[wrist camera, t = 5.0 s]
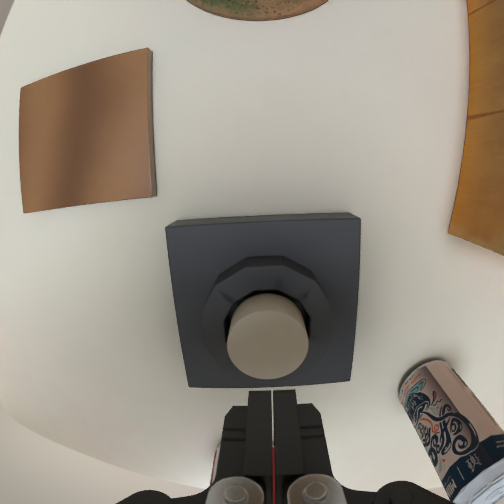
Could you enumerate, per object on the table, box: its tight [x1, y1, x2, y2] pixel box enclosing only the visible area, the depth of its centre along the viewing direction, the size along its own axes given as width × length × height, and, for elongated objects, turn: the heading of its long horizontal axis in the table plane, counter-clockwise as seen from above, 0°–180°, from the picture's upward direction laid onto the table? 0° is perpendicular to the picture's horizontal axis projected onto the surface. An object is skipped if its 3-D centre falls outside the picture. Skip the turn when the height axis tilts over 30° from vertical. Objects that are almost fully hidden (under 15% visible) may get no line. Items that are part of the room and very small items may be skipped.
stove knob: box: [227, 293, 309, 379], centre depth 15 cm, size 4×4×2 cm
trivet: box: [19, 48, 157, 213], centre depth 17 cm, size 10×9×1 cm
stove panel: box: [165, 213, 361, 388], centre depth 17 cm, size 10×10×4 cm
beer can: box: [399, 360, 504, 504], centre depth 15 cm, size 5×5×12 cm
